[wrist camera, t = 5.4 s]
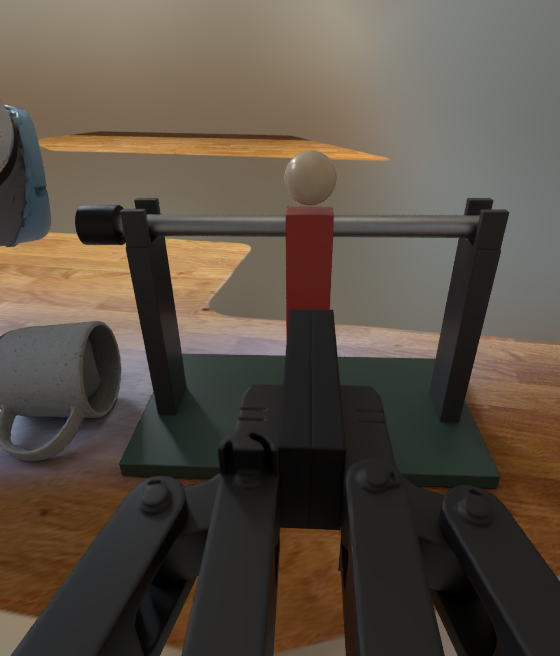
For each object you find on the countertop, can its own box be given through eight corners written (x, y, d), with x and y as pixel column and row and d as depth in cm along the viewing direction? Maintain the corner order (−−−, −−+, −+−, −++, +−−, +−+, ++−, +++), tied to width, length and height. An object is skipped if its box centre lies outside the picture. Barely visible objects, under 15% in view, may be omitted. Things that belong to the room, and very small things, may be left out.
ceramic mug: (40, 379, 42) (13, 306, 38) (128, 378, 42) (110, 305, 38) (-26, 468, 33) (-70, 385, 29) (86, 467, 33) (58, 383, 29)
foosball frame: (121, 475, 32) (58, 240, 23) (172, 363, 44) (143, 180, 35) (496, 489, 31) (578, 243, 22) (443, 369, 43) (482, 179, 34)
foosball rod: (108, 373, 34) (54, 156, 27) (125, 347, 37) (81, 146, 30) (458, 381, 33) (509, 154, 25) (445, 353, 36) (487, 144, 28)
